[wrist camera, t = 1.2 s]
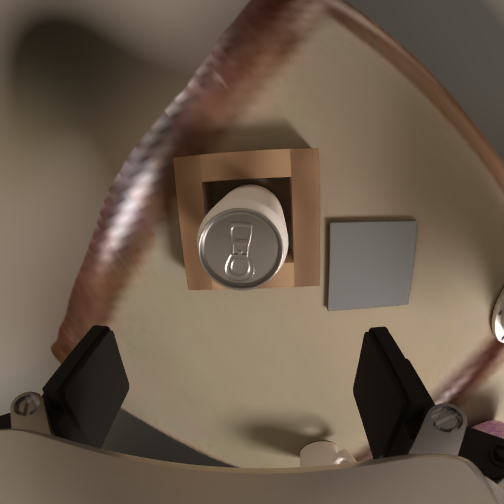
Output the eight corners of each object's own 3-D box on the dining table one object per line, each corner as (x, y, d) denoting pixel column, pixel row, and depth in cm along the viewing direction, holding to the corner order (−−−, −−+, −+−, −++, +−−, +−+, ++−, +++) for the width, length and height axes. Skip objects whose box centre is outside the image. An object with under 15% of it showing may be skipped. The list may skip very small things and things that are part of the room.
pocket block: (312, 149, 29) (318, 148, 26) (315, 272, 33) (319, 285, 30) (183, 157, 30) (173, 157, 27) (196, 276, 34) (188, 289, 31)
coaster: (415, 220, 30) (417, 221, 30) (406, 302, 33) (408, 304, 33) (329, 221, 31) (330, 223, 31) (327, 308, 34) (328, 311, 34)
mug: (315, 464, 44) (320, 519, 33) (290, 452, 43) (291, 511, 32) (361, 438, 41) (375, 496, 30) (337, 424, 40) (349, 487, 29)
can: (219, 244, 33) (192, 293, 21) (220, 182, 31) (190, 199, 19) (280, 247, 32) (286, 298, 21) (284, 185, 30) (293, 204, 19)
